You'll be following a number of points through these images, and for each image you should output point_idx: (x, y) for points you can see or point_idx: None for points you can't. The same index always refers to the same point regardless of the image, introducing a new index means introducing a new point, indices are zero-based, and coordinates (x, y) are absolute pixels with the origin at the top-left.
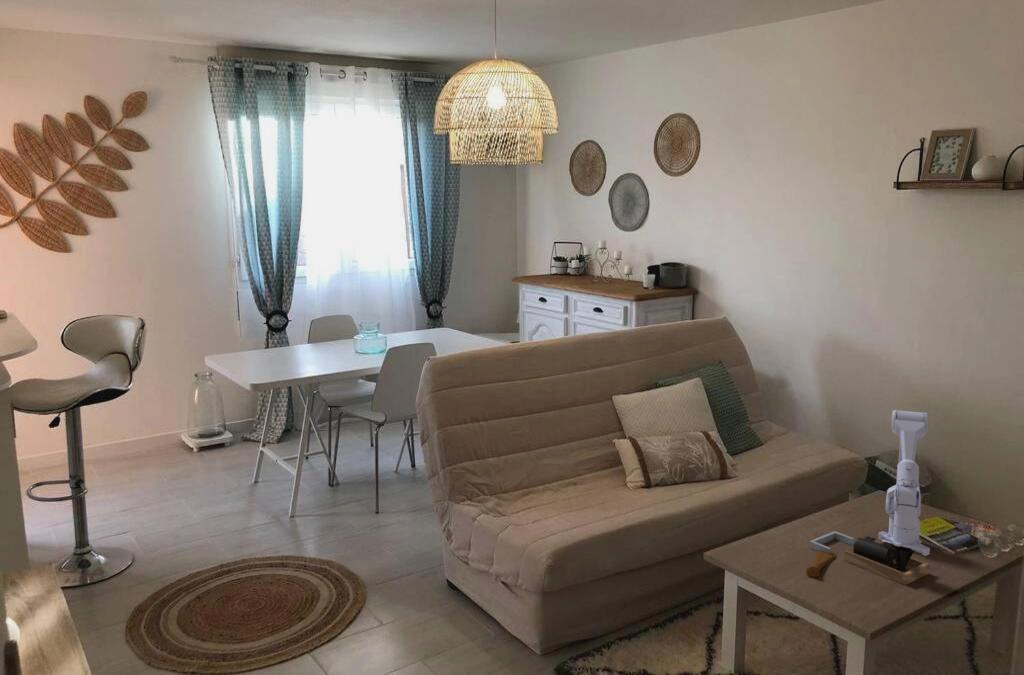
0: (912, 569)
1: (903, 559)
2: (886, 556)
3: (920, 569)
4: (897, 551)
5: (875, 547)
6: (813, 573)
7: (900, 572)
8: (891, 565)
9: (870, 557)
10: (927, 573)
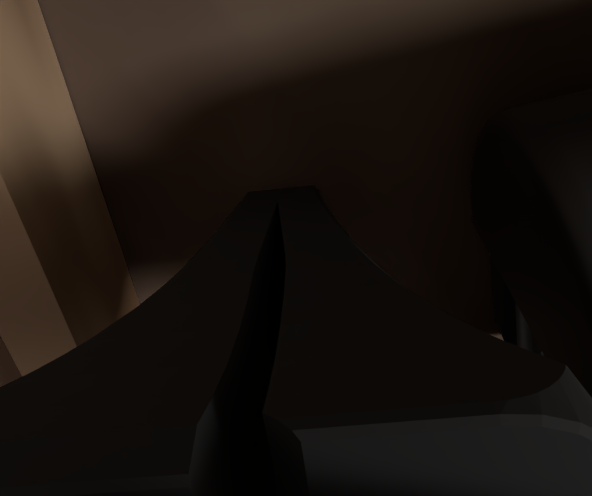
0: (23, 259)
1: (139, 308)
2: (563, 181)
3: (32, 365)
4: (271, 403)
5: None
6: None
7: None
8: (492, 275)
9: None
10: None
